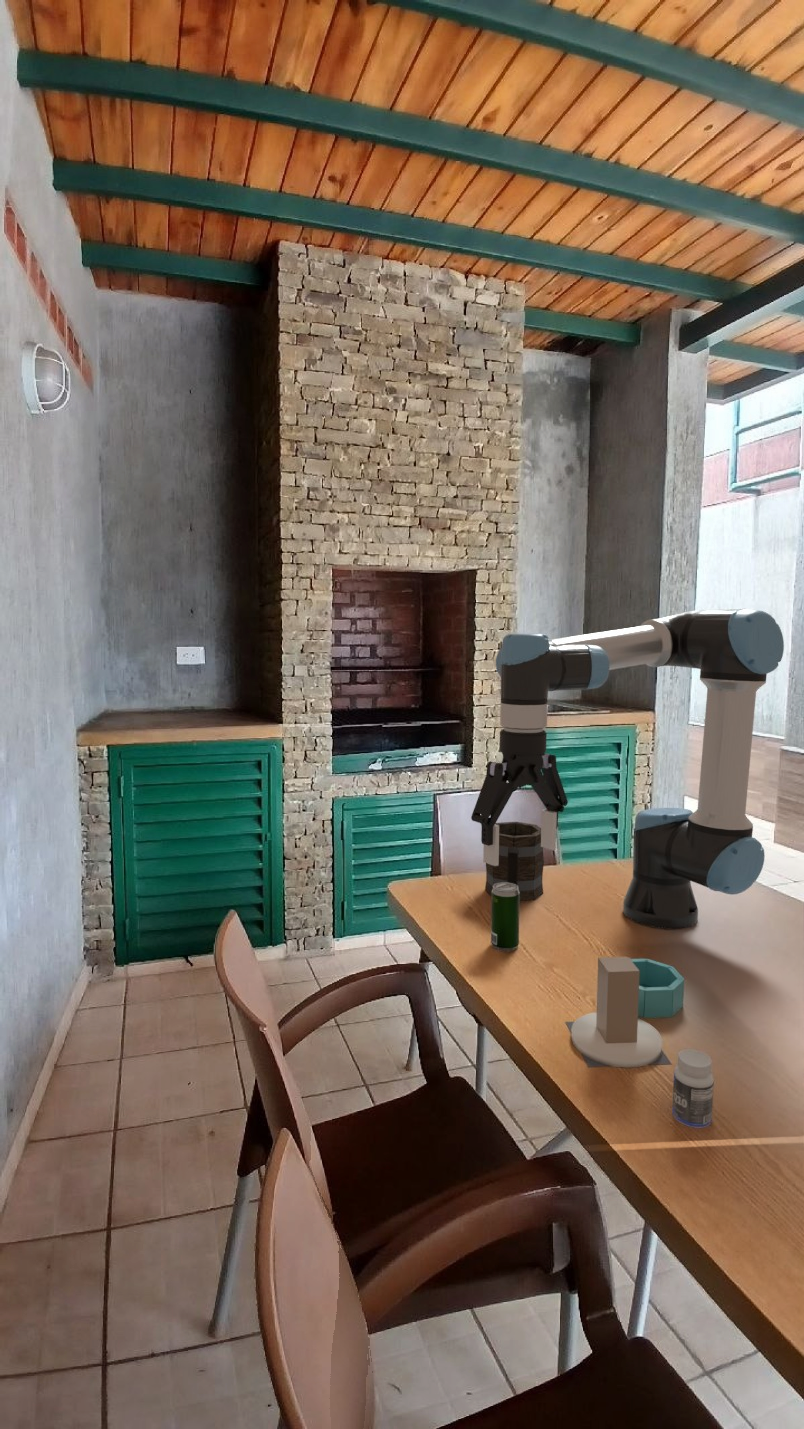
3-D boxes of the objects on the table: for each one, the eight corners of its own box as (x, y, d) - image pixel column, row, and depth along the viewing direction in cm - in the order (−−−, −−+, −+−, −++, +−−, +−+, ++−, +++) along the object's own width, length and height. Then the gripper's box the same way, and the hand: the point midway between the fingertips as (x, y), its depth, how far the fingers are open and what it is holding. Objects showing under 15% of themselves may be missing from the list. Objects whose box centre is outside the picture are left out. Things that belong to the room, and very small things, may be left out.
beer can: (503, 954, 143) (504, 893, 141) (485, 944, 147) (485, 885, 146) (524, 947, 146) (525, 888, 144) (506, 938, 150) (506, 880, 149)
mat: (640, 1022, 119) (640, 1019, 119) (671, 1067, 107) (671, 1063, 107) (565, 1024, 118) (565, 1021, 118) (588, 1070, 106) (588, 1067, 106)
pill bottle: (665, 1108, 98) (668, 1047, 97) (700, 1106, 98) (703, 1045, 97) (682, 1132, 93) (685, 1069, 92) (718, 1130, 94) (722, 1067, 93)
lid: (642, 1017, 119) (645, 944, 118) (676, 1065, 106) (680, 984, 105) (561, 1020, 119) (563, 946, 117) (585, 1069, 106) (588, 986, 104)
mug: (486, 880, 184) (487, 820, 182) (543, 883, 181) (544, 822, 179) (480, 911, 164) (481, 844, 163) (543, 915, 162) (544, 847, 160)
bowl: (664, 985, 131) (665, 958, 130) (691, 1018, 120) (693, 989, 119) (601, 987, 130) (602, 959, 129) (623, 1021, 119) (624, 991, 119)
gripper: (556, 720, 133) (553, 837, 136) (449, 733, 118) (448, 864, 121) (591, 725, 127) (587, 847, 130) (483, 739, 112) (481, 877, 115)
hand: (520, 856), depth 125 cm, fingers open, 13 cm apart
